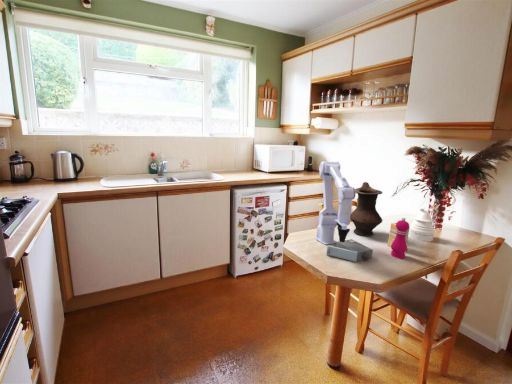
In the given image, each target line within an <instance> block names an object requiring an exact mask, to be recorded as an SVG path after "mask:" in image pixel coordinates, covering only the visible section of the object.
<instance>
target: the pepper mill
mask: <svg viewBox="0 0 512 384" xmlns="http://www.w3.org/2000/svg"><path fill="white" fill-rule="evenodd" d="M395 223H396V228H397V229H396V233H397V234H396V238H395V240H394V241H393V242H392V245H391V247H390V249H391V253H390V255H391V256H392V257H394V258H395V259H405V257H406V252H407V251H408V243H407V244H406V240H405V237H406V234H407V230H408V229H409V228H410V223H409V222H408V221H406V217H402V218H401V220H398V221H397V222H395ZM409 230H410V229H409Z"/></svg>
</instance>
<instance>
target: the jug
mask: <svg viewBox="0 0 512 384" xmlns="http://www.w3.org/2000/svg"><path fill="white" fill-rule="evenodd" d="M354 189H355V192H356V195H357V206H356V207H355V209H354V210H353V211H351V215H350V221H351V222H352V224H353V225H354V226H355V229H353V233H354V234H355V235H357V236H363V237H370V236H373V235H374V231H373V230H374V229H375V228H377V227H378V226H379V225H380V224H382V223H383V219H382V217H381V215H380V214H379V212H378V211H377V209H376V206H377V199H378V197H379V195H382V194H383V191H382V190H379V189H375V188H373V187H372V186H370V184H369V182H367V181H365V182H363V183H362V185H361V186H360V187H357V188H354Z"/></svg>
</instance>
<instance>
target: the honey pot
mask: <svg viewBox="0 0 512 384" xmlns="http://www.w3.org/2000/svg"><path fill="white" fill-rule="evenodd" d="M419 211H420V212H419V213H418V214H417V215H416V216H414V217H413V219H414V220H413V221H412V223H411V225H409V228H410V229H409V234H408V238H409V237H410V238H411V239H412V240H416V241H419V242H428V243H429V242H433V241H434V237H435V230H434V224H433V222H434V219H432V217H431V215H430V213H429V212H428V210H425V208H424V207H419Z"/></svg>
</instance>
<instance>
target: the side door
mask: <svg viewBox="0 0 512 384" xmlns="http://www.w3.org/2000/svg"><path fill="white" fill-rule="evenodd" d="M357 253H358V252H355V251H351V250H346V249H342V248H338V247H336V246H333V245H330V244H327V248H326V255H327V256H330V257H335V258H340V259H343V260H348V261H351V262H358V261H357Z"/></svg>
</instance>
